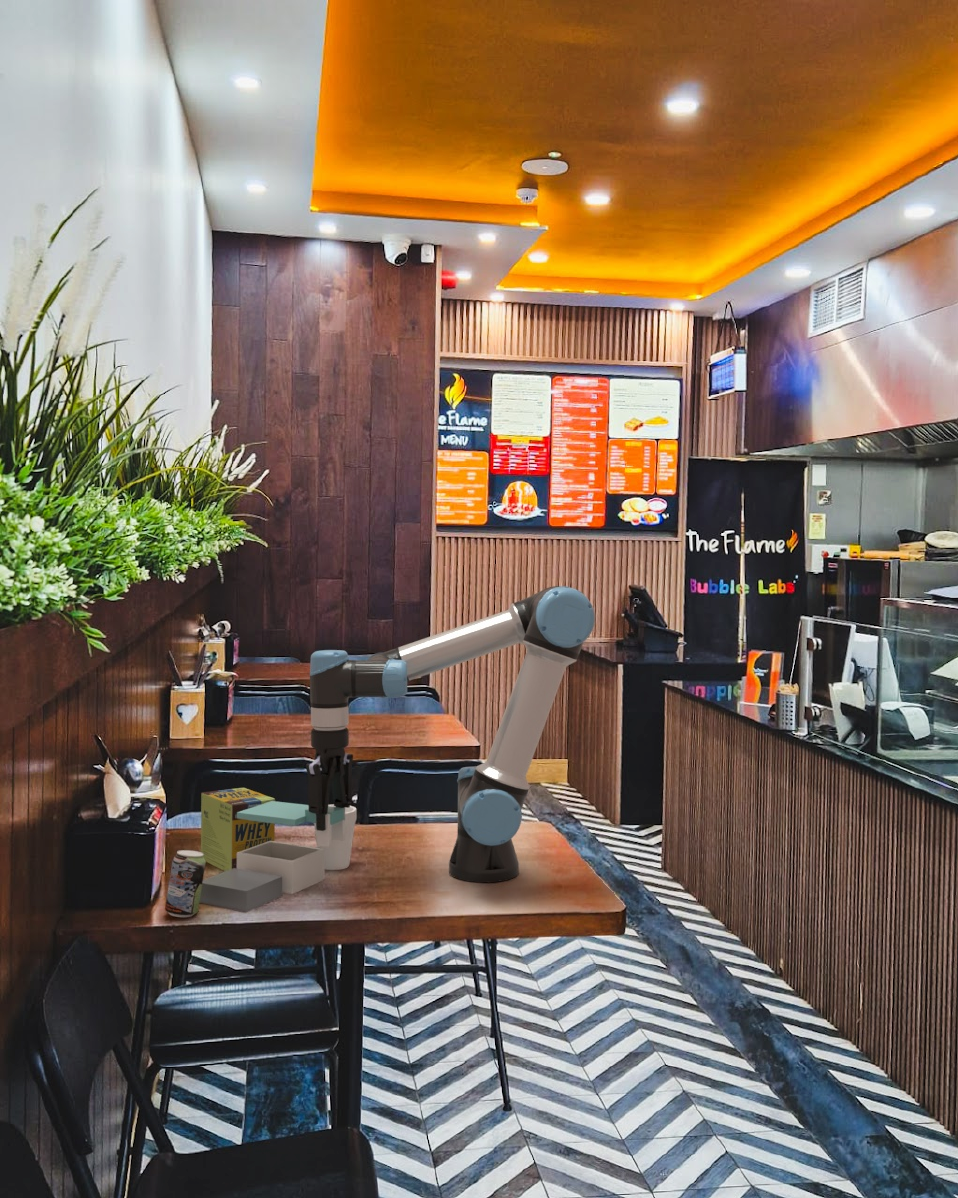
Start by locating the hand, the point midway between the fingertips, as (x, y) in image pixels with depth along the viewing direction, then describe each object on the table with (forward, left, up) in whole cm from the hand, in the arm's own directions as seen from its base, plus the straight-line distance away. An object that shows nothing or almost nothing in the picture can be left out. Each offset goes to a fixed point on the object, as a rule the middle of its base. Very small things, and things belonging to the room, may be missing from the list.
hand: (331, 842), depth 213 cm
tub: (+12, 0, -10) cm, 16 cm away
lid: (+9, 0, +3) cm, 9 cm away
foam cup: (+9, -15, -10) cm, 20 cm away
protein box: (+29, -7, -11) cm, 32 cm away
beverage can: (+16, +24, -10) cm, 31 cm away
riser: (+12, +13, -10) cm, 21 cm away
